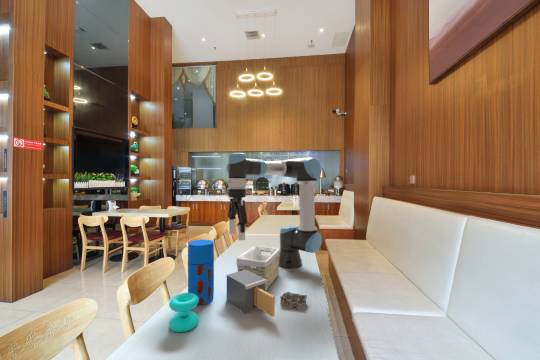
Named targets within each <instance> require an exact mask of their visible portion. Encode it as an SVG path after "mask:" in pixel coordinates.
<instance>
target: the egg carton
mask: <svg viewBox="0 0 540 360" xmlns="http://www.w3.org/2000/svg"><path fill="white" fill-rule="evenodd" d="M307 295H308V294H300V293H296V292H294V293H293V292H291V291H286V292H284V293H283V294H282V295H280V296H279V298H280V299H279V300H280V302H279V303H280V305H281V306H282V307H289V308H291V309H292V308H297V310H303V309H305V306H306V305H307V297H308V296H307Z"/></svg>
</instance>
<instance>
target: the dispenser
mask: <svg viewBox="0 0 540 360" xmlns="http://www.w3.org/2000/svg"><path fill="white" fill-rule="evenodd" d="M265 283H267V280H266V279H264V278H262V277H260V276H258V275H256V274H254V273H252V272H250V271H248V270H242V271H239V272H238V271H235V272H233V273H232V272H231V273H228V274H226V301H227V302H228V303H229V304H231V305H232V306H233V307H235V308H236V309H237V310H238V311H240V312H241V313H243V314H244V315H246V314H249V313H252V312H253V311H256V310H258V309H259V308H258V307H256V306H255V305H253V287H255V286H256V287H258V288H260V289H262V290H264V291H266V290H265ZM259 310H260V309H259Z"/></svg>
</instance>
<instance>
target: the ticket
mask: <svg viewBox="0 0 540 360" xmlns="http://www.w3.org/2000/svg"><path fill="white" fill-rule="evenodd" d="M275 299H276V298H275V295H273V294H271V293H270V292H268V291H266V290H265V291H264V290H262V289H260V288H258V287H256V286H255V287H253V305H255V306H256V307H258V308H259V310H260V311H262V312H264V313H265V314H267V315H269V316H271V317H272V318H273V317H275V315H276V314H275V312H276V311H275V308H276V307H275V306H276V305H275V303H276V301H275Z"/></svg>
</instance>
